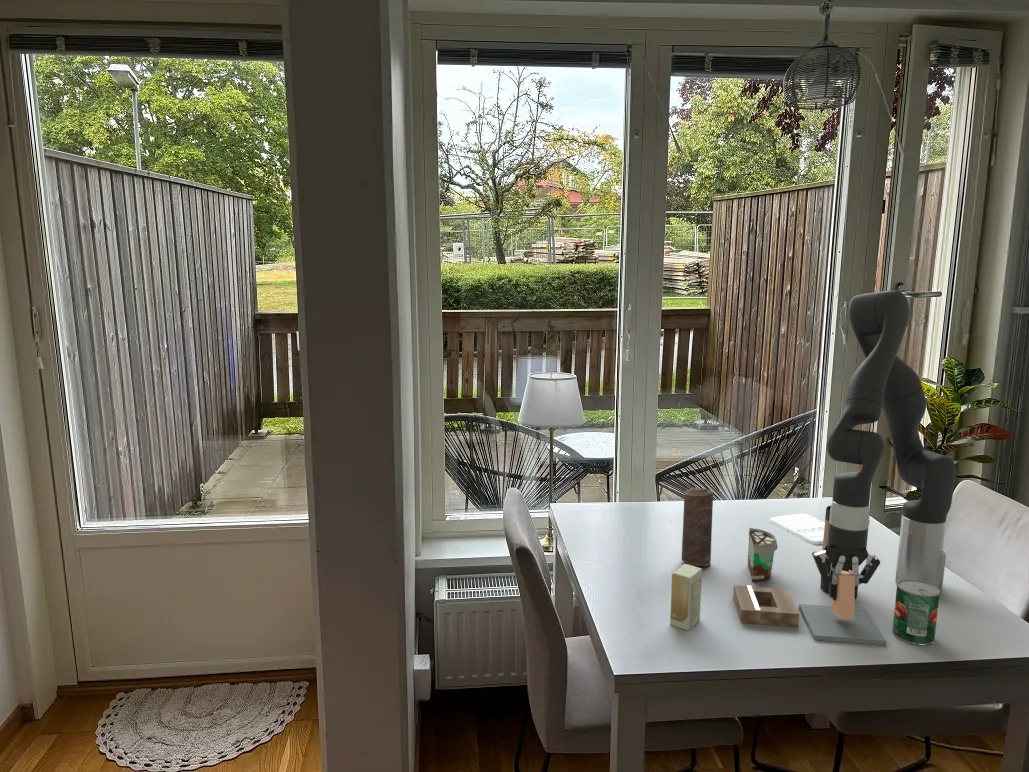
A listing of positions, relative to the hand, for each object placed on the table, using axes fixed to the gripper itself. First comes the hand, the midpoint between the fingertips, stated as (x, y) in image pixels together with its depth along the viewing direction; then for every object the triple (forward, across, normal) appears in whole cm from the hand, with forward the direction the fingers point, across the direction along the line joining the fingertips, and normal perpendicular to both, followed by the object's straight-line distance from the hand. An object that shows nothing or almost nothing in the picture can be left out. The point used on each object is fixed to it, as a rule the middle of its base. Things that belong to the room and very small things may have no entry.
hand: (842, 599), depth 155 cm
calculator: (+7, -7, -58) cm, 59 cm away
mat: (+6, 0, 0) cm, 6 cm away
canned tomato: (+6, -14, +2) cm, 16 cm away
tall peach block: (+3, 0, +1) cm, 3 cm away
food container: (+6, +12, -24) cm, 28 cm away
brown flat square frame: (+6, +15, -4) cm, 17 cm away
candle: (+6, +28, -28) cm, 40 cm away
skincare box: (+6, +33, +4) cm, 34 cm away
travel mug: (+6, -4, -18) cm, 20 cm away
